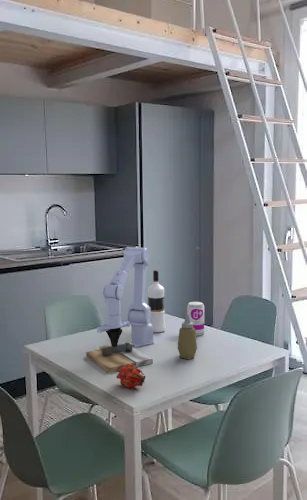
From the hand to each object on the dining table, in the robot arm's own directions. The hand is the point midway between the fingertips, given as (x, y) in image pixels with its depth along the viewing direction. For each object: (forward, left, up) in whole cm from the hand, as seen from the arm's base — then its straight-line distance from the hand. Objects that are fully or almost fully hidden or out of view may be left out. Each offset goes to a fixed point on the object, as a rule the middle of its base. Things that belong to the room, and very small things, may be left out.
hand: (114, 346), depth 194 cm
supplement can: (-50, -12, -6) cm, 52 cm away
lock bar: (-3, -2, -4) cm, 5 cm away
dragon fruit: (+6, +26, -6) cm, 27 cm away
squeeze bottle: (-28, +12, -6) cm, 31 cm away
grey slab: (-2, 0, -6) cm, 6 cm away
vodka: (-37, -27, -6) cm, 46 cm away
